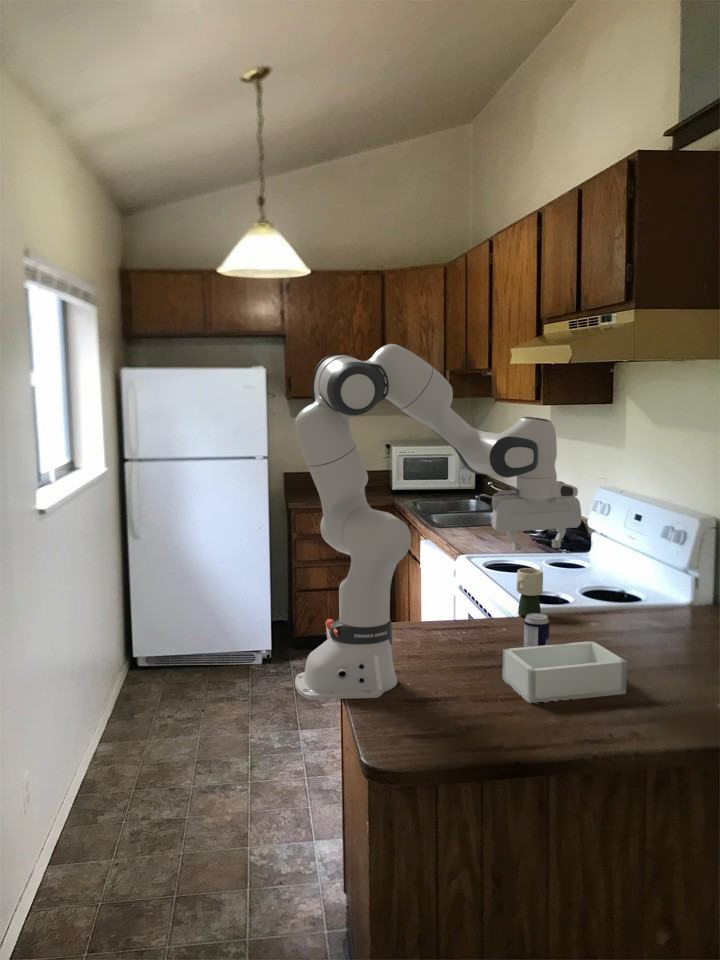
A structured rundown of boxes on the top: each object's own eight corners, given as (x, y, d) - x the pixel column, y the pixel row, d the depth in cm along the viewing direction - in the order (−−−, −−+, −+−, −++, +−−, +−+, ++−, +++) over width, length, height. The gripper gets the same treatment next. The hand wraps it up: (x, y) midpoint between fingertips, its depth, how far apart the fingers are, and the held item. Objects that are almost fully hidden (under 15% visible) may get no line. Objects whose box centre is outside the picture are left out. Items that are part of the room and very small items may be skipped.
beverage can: (548, 671, 182) (550, 620, 180) (523, 669, 183) (524, 618, 182) (548, 662, 187) (549, 613, 186) (523, 661, 188) (524, 611, 187)
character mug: (531, 609, 231) (532, 565, 229) (551, 615, 225) (552, 570, 224) (506, 616, 224) (507, 571, 223) (526, 622, 219) (527, 576, 217)
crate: (529, 704, 163) (530, 671, 162) (502, 679, 177) (502, 649, 176) (626, 693, 168) (627, 661, 168) (592, 670, 182) (592, 641, 181)
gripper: (496, 493, 175) (496, 554, 177) (584, 488, 178) (584, 548, 180) (487, 489, 181) (488, 548, 183) (573, 484, 184) (572, 543, 186)
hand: (536, 548), depth 181 cm, fingers open, 8 cm apart
